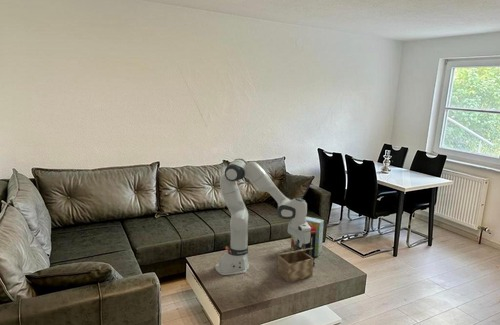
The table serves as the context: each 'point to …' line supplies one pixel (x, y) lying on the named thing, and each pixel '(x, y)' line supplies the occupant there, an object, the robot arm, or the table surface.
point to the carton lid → (295, 249)
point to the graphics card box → (310, 243)
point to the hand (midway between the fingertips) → (297, 244)
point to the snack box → (319, 234)
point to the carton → (295, 266)
